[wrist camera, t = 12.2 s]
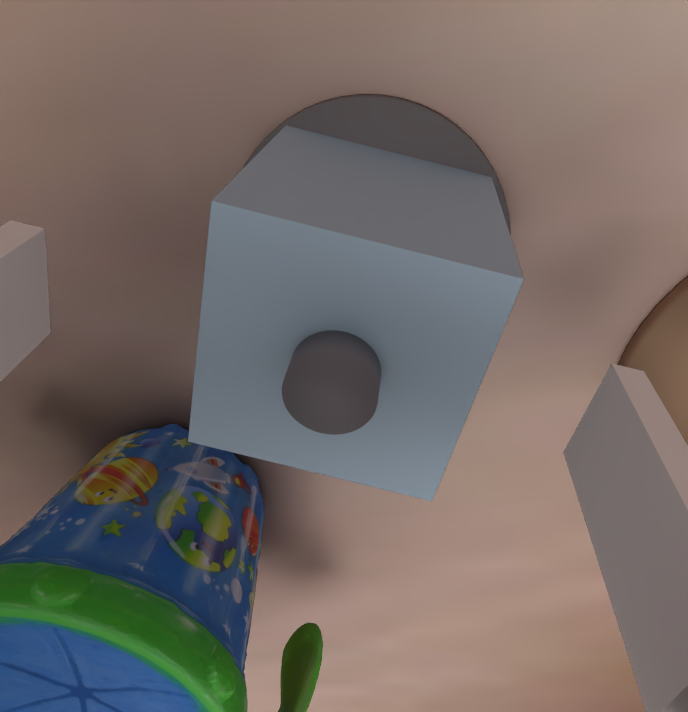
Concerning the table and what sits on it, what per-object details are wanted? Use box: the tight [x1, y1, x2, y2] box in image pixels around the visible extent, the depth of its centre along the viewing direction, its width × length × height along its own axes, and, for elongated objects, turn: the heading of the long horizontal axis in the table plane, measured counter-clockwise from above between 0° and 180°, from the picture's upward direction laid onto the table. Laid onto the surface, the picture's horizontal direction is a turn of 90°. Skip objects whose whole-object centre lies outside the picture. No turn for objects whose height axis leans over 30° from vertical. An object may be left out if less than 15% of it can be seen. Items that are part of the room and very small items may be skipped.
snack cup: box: [0, 424, 323, 712], centre depth 23 cm, size 16×10×10 cm
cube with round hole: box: [188, 125, 524, 501], centre depth 16 cm, size 6×6×8 cm
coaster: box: [244, 94, 510, 233], centre depth 20 cm, size 9×9×1 cm
